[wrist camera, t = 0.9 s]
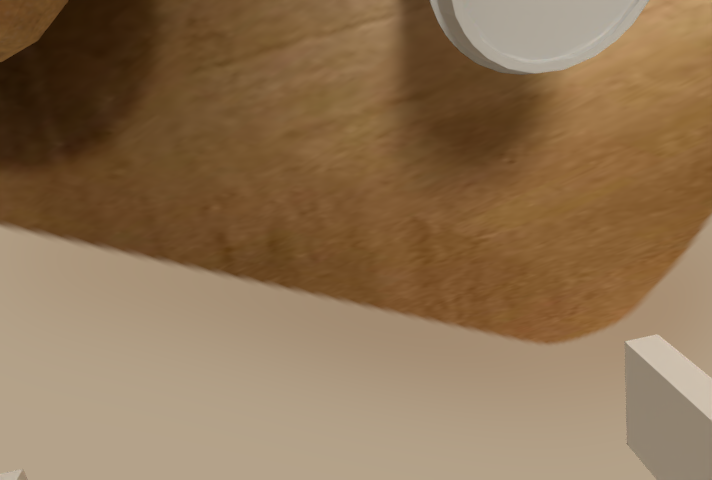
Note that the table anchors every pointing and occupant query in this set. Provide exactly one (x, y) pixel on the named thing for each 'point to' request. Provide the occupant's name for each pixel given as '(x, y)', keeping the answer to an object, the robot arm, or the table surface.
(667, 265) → the table surface
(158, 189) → the table surface
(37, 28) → the potato
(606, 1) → the disposable coffee cup
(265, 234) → the table surface
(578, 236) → the table surface
